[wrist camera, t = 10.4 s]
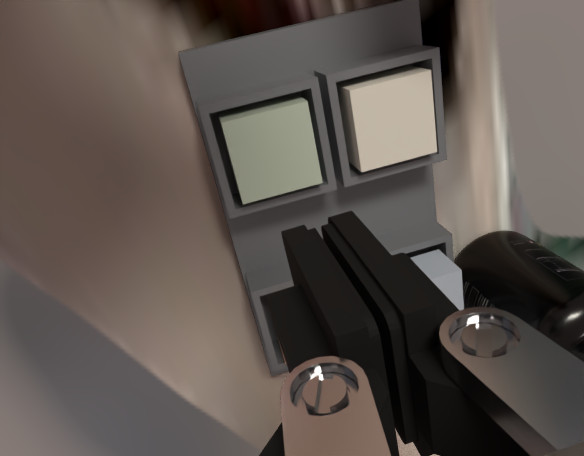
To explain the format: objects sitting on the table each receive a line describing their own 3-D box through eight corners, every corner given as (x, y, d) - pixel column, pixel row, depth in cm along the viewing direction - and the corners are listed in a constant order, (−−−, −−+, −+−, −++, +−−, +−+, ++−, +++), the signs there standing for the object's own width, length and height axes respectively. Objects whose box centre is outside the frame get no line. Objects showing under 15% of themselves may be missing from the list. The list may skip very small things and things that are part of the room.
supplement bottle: (500, 325, 36) (640, 460, 25) (425, 301, 33) (543, 438, 23) (553, 244, 34) (730, 352, 23) (477, 212, 31) (635, 316, 21)
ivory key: (333, 83, 25) (349, 90, 22) (408, 65, 25) (431, 70, 23) (345, 158, 26) (361, 172, 24) (415, 140, 27) (437, 151, 25)
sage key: (217, 112, 24) (221, 122, 22) (295, 93, 24) (307, 101, 22) (237, 187, 26) (243, 204, 23) (310, 168, 26) (322, 182, 24)
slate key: (372, 268, 27) (389, 291, 25) (438, 249, 28) (461, 270, 26) (380, 326, 29) (397, 352, 27) (443, 306, 29) (465, 330, 27)
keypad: (178, 51, 24) (178, 57, 21) (408, -3, 25) (440, -5, 22) (268, 364, 33) (277, 400, 30) (436, 312, 34) (462, 342, 31)
